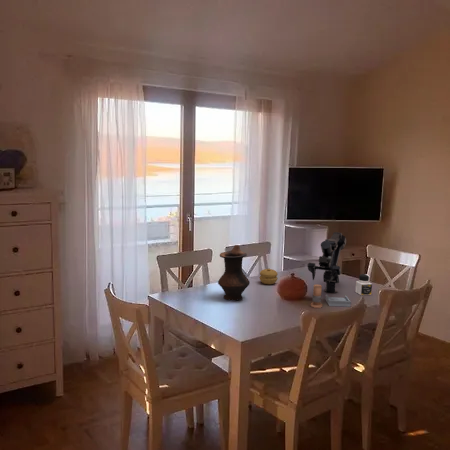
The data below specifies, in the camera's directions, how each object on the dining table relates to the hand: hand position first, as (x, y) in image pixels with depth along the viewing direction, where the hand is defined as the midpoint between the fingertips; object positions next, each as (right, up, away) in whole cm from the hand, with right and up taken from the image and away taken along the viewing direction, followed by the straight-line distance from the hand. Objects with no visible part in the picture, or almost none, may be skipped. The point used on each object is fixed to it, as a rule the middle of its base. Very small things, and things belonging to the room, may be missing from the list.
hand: (320, 281), depth 286 cm
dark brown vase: (-50, -11, +7) cm, 51 cm away
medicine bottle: (+31, -11, +23) cm, 40 cm away
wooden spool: (-3, -14, -4) cm, 15 cm away
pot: (-27, -6, +41) cm, 49 cm away
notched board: (+10, -13, +2) cm, 17 cm away
